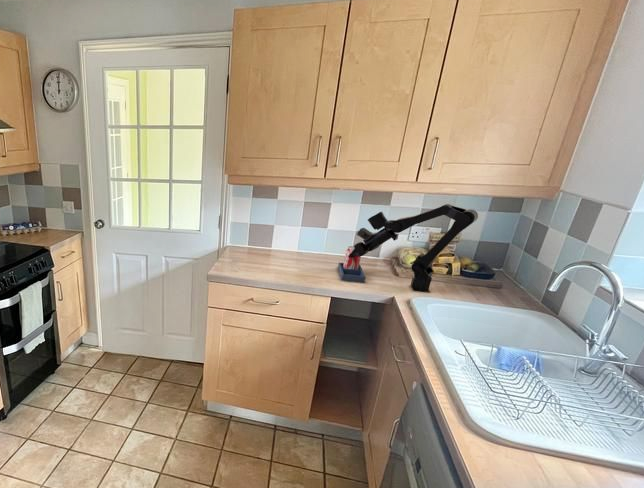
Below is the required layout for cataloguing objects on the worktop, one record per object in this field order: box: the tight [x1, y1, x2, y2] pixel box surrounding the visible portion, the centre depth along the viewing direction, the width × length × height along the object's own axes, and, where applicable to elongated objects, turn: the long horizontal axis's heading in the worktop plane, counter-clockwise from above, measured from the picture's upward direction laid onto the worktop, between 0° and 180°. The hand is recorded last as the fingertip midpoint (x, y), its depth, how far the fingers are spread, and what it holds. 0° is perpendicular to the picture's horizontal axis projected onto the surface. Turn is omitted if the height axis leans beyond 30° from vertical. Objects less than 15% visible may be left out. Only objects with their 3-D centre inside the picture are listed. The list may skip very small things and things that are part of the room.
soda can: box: [343, 245, 362, 270], centre depth 206 cm, size 7×7×12 cm
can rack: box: [337, 262, 367, 284], centre depth 204 cm, size 10×19×3 cm, turn 163°
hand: (352, 255), depth 205 cm, fingers open, 9 cm apart
